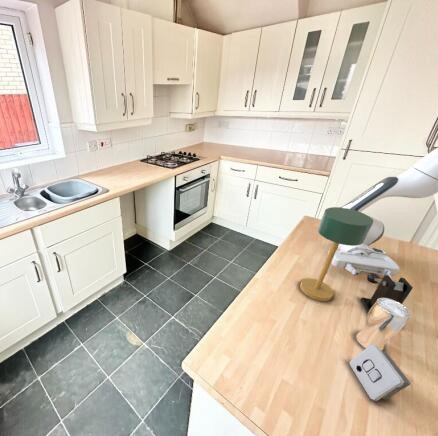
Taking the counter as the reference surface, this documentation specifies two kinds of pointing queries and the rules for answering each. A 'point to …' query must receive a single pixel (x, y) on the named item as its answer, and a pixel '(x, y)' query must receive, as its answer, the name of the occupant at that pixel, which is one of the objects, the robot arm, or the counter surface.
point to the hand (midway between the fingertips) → (372, 276)
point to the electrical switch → (378, 373)
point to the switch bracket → (388, 292)
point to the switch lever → (375, 279)
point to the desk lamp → (336, 244)
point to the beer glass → (383, 322)
